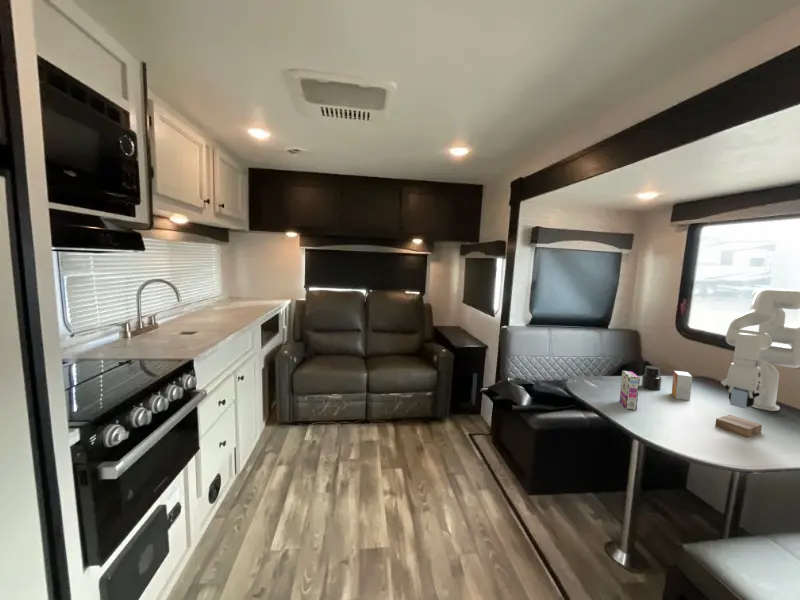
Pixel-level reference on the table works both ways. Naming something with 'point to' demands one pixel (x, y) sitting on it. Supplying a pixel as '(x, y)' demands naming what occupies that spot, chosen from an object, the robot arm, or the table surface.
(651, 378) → the ink bottle
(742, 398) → the slate block
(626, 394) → the candy bar box
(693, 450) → the table surface
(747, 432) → the walnut block
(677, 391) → the small box
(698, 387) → the table surface
